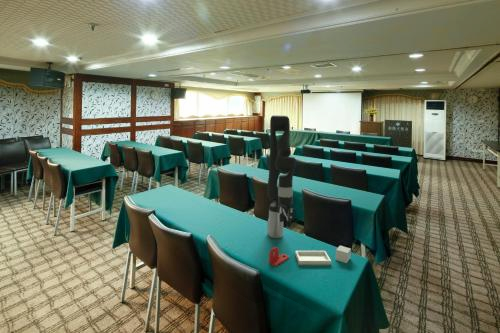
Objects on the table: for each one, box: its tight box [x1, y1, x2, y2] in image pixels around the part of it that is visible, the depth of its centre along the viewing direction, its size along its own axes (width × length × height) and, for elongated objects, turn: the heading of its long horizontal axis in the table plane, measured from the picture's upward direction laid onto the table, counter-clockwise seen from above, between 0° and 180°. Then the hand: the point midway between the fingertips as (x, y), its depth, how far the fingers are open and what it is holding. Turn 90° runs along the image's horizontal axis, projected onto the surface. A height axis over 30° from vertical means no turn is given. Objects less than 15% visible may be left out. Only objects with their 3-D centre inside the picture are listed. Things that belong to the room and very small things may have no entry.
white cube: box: [335, 245, 352, 264], centre depth 150 cm, size 6×6×6 cm
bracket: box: [268, 246, 290, 267], centre depth 147 cm, size 12×4×8 cm, turn 137°
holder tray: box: [294, 250, 332, 266], centre depth 149 cm, size 11×17×2 cm, turn 92°
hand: (285, 224), depth 148 cm, fingers open, 8 cm apart
